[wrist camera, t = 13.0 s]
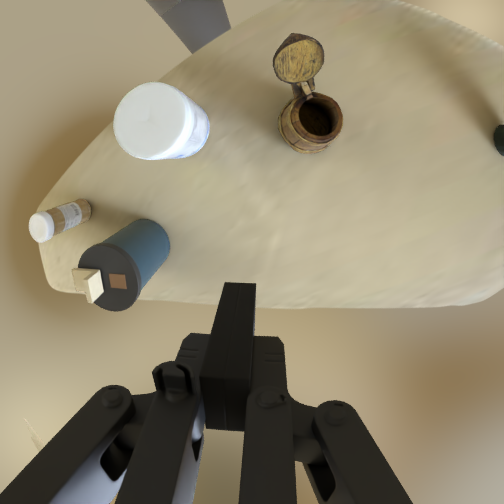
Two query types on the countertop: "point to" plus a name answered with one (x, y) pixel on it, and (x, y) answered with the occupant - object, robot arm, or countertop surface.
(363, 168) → the countertop surface
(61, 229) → the sprinkles bottle
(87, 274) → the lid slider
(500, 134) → the potion bottle
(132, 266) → the tumbler
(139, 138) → the supplement tub
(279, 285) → the countertop surface
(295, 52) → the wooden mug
